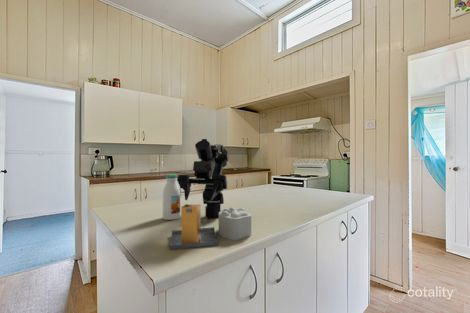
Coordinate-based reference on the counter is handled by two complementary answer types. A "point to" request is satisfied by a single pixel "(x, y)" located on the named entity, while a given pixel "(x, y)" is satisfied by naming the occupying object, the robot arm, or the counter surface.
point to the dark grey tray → (206, 240)
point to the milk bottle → (171, 198)
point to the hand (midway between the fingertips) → (198, 200)
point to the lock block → (190, 223)
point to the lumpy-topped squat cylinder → (234, 223)
